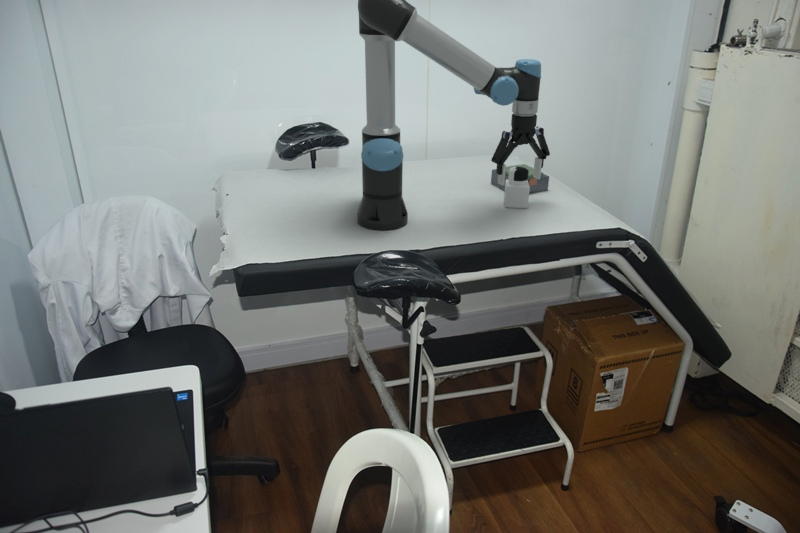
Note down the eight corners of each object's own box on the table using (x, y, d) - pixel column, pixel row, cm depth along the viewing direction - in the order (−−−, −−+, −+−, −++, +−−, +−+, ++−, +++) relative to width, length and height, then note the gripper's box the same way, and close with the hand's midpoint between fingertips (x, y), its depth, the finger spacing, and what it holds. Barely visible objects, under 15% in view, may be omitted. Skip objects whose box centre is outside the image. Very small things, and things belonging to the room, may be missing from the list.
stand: (514, 196, 204) (516, 179, 202) (490, 183, 216) (492, 167, 214) (548, 190, 210) (550, 174, 207) (523, 178, 222) (525, 162, 219)
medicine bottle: (525, 201, 201) (529, 165, 195) (527, 208, 194) (531, 172, 189) (503, 200, 201) (506, 164, 196) (504, 207, 195) (508, 171, 189)
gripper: (496, 120, 177) (492, 190, 187) (565, 111, 186) (558, 178, 196) (482, 115, 183) (479, 183, 193) (550, 107, 193) (544, 172, 202)
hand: (519, 181), depth 194 cm, fingers open, 13 cm apart
